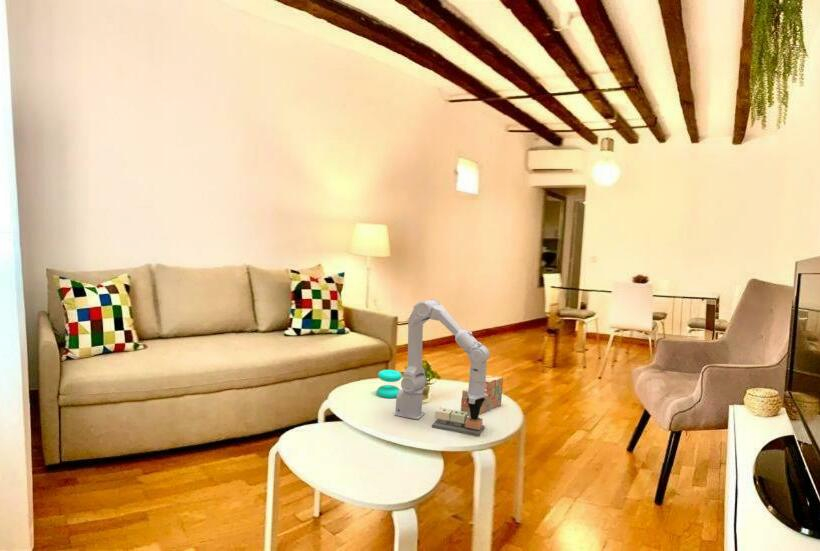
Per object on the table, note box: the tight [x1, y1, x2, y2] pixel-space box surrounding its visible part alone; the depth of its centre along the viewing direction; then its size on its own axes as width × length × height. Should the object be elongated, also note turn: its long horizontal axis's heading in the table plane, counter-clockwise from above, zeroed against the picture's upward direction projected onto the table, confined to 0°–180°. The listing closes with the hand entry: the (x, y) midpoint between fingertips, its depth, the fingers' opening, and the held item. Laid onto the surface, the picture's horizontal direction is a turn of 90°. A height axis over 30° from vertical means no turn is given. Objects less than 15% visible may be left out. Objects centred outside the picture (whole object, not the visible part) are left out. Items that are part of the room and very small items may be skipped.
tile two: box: [450, 409, 469, 423], centre depth 181 cm, size 5×5×3 cm
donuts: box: [376, 369, 403, 399], centre depth 215 cm, size 10×10×10 cm
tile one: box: [434, 407, 454, 421], centre depth 183 cm, size 5×5×3 cm
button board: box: [431, 418, 485, 437], centre depth 182 cm, size 17×9×3 cm, turn 70°
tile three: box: [465, 415, 483, 430], centre depth 180 cm, size 5×5×3 cm
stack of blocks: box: [460, 374, 504, 417], centre depth 204 cm, size 21×6×12 cm, turn 141°
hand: (474, 418), depth 180 cm, fingers closed
